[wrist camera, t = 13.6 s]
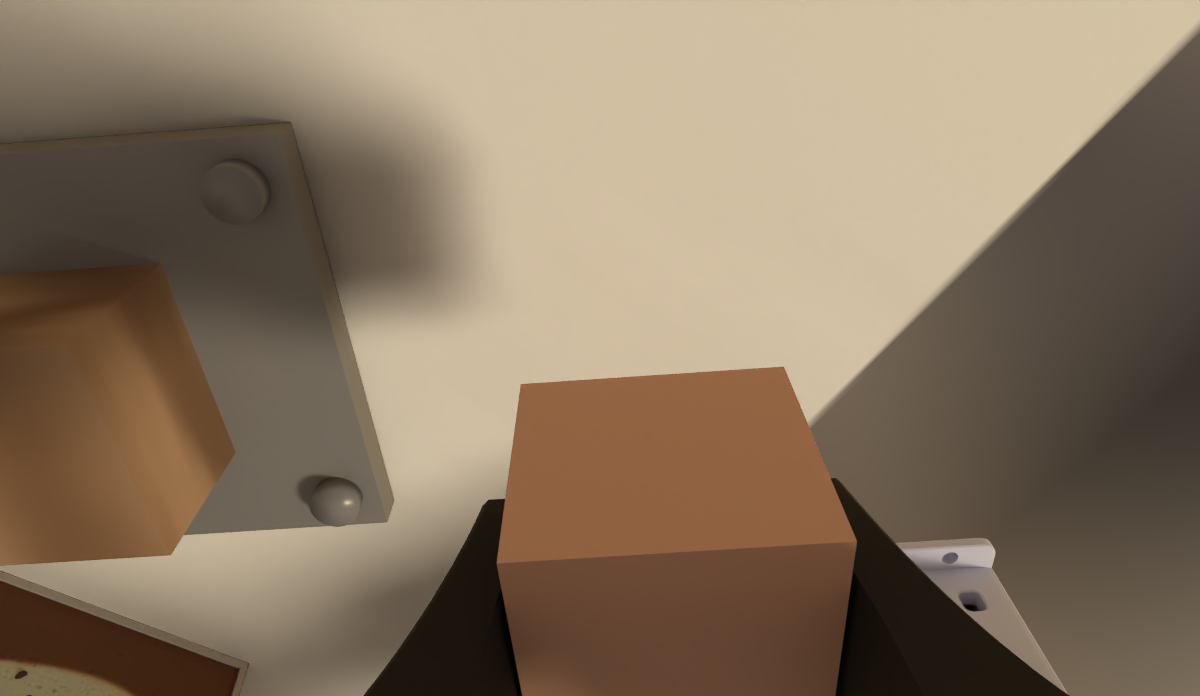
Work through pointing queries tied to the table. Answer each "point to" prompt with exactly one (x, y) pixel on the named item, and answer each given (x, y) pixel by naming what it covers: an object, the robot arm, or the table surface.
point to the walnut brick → (101, 417)
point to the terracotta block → (673, 540)
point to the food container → (98, 651)
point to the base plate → (221, 301)
